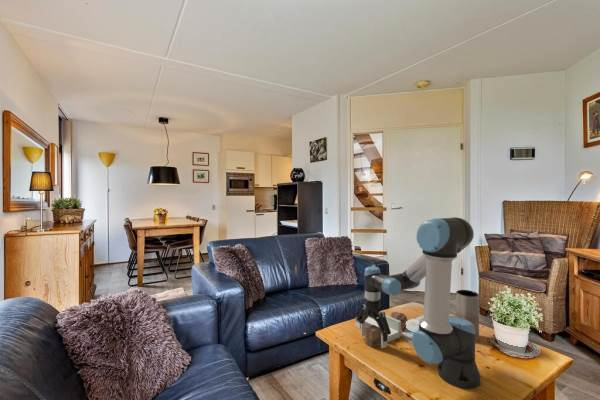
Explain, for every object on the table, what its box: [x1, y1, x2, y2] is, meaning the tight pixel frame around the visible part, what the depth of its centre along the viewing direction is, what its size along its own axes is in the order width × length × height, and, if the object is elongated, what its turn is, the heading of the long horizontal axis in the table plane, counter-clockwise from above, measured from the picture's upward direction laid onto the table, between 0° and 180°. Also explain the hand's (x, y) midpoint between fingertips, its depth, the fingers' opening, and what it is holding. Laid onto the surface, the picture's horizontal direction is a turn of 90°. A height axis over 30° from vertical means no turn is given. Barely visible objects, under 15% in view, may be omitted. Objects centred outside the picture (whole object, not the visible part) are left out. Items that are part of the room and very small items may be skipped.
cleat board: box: [354, 314, 402, 344], centre depth 155 cm, size 22×12×8 cm, turn 32°
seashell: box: [390, 311, 408, 331], centre depth 160 cm, size 10×9×10 cm
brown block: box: [364, 325, 381, 349], centre depth 141 cm, size 5×7×8 cm
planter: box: [455, 289, 480, 342], centre depth 147 cm, size 10×10×23 cm
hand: (373, 341), depth 142 cm, fingers open, 13 cm apart
